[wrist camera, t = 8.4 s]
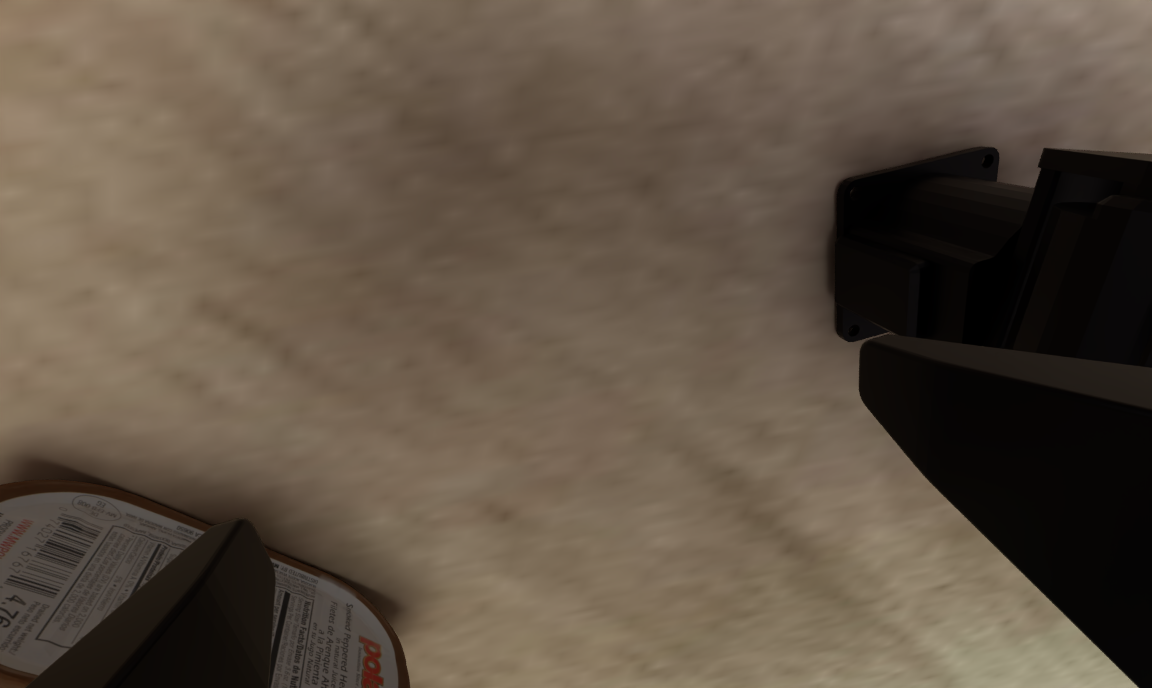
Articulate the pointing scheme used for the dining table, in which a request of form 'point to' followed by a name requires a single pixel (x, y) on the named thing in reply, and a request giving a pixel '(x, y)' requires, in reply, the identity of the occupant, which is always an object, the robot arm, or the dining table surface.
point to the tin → (137, 553)
